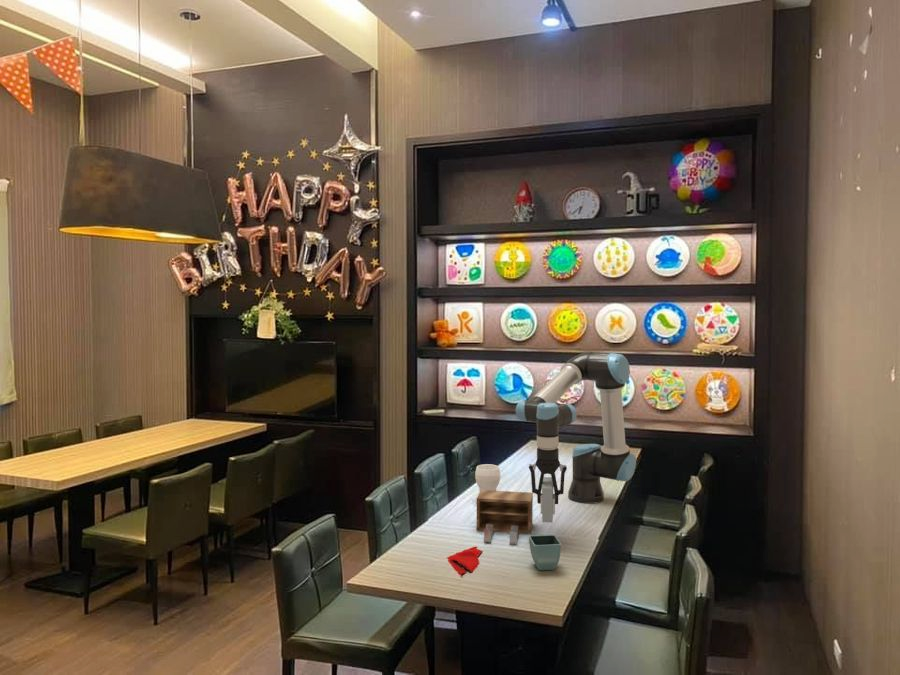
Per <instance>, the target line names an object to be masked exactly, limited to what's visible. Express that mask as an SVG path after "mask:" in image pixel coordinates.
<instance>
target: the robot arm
mask: <svg viewBox="0 0 900 675" xmlns="http://www.w3.org/2000/svg"><path fill="white" fill-rule="evenodd" d="M630 367H631V366H630V364H629V361H628V359H627V358H626V357H625V356H624V354H621V353H615V352H595V351H594V352H593V351H587V352H582V353H580V354H577V355H574V356H573V357H571V358H569V359H568V360H567V361H566V362H565V363H564V364H562V365H561V367H560V370H559V372H558V373H556V375H554V376H553V377H552V378H551V379H550V380H549V381H548V382H547V383H546V384H544V386H543V387H541V389H540V390H539V391H538V392H537V393H536V394H535V395H534V396H532V398H530V399H529V400H520V401H518V403H517V404H516V406H515V414H516V415H515V416H516V418H517V419H518V420H520V421H522V422H523V421H524V422H527V423H536V447H537V448H536V461H535V462H534V463H530V464H528V469H529V471H530V479H531V493H533V494H536V498H537V500H536V502H537V504H540V514H541V515H542V485H543V479H544V477H545V475H550V477H552V482H553V495H555V499H553V515H555V514H556V505H559V496H560V495H563V494H564V490H565V489H564V488H565V477H566V476H565V474H566V471H567V469H568V468H567V465H566V464H562V463H560V461H559V460H560V457H559V453H560V452H559V451H560V450H559V448H558V447H559V436H560V435H559V429H560V428H563V427H565V426H569V425H571V424H572V423H574V422H575V421H576V419H577V417H578V413H577V409H576V408H575V406H574V405H572V404H570V403H562V404H558V403H557V402H558V401H559V400H560V399H561V398H562V397H563V396H564V395H565V394H566V393H567V392H568V391H569V389H571V388H572V387H573V386H574V385H578V384H580V382H582V381H590V382H591V381H593V382H595V383H594V384H595V388H596V389H597V390H598V391H599V396H600V397H599V399H600V408H601V411H600V412H601V424H602V433H603V434H602V435H603V445H602V446H601V444H598V443H584V444H579V445H576V446H574V447H573V449H572V456H571V457H572V480H571V483H570V486H569V487H568V488H569V489H568V491H567V492H568V493H567V497H568V499H569V500H571V501H573V502H575V503H581V504H582V503H583V504H598V503H601V502H603V501H604V500H605V493H604V490H603V486H602V484H601V478H603V479H609V480H613V481H617V482H628V481H630V480H631V478H632V477H633V475H634V473H635V471H636V470H635V469H636V466H637V458H636V455H635V454H634V453H631V451H630V450H631V449H630V446H629V445H627V443H626V433H625V432H626V431H625V421H624V419H625V418H624V407H623V406H624V405H623V393H622V392H623V391H622V390H623V388H624V387H626V383H628V381H629V379H630V374H631V368H630ZM536 468H537V469H538V471H539V472H540V477H539V482H538V487H537V486H536V485H537V484H536ZM558 469H559V471H560V486H559V489H558V483H557V482H558V481H557V478H556V471H558ZM536 487H537V488H536Z"/></svg>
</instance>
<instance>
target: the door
mask: <svg viewBox="0 0 900 675" xmlns="http://www.w3.org/2000/svg"><path fill="white" fill-rule="evenodd" d="M541 493H542V514H541V516H542V517H541V522H542V523H550V524H553V521H554V514H553V499H555V495H553V494H554V487H553V482H552V477H551V476H550V477H549V476H546V477H545V476H544V479H543V484H542V490H541Z"/></svg>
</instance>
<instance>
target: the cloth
mask: <svg viewBox="0 0 900 675" xmlns="http://www.w3.org/2000/svg"><path fill="white" fill-rule="evenodd" d="M483 552H484V551H483V550H481V549H478V546H473V547H470V548H468V549H463V550H461V551H458V552H456V553H455V554H452V555H449V556H447V557H446V559H447V562H448V563H449V565H450V566H451V567H452V568H453V569H454V570H455V571H456V572H457V574H458V575H459V576H460V577H461V578H462V579H463V576H462V575H463V574H467V573H468V572H469V571H470V572H471V573H472V574H473V572H474V571H475V570H476V569H477V568H478V567H479V565H480V561H479V556H480V555H481V554H482V553H483Z"/></svg>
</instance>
